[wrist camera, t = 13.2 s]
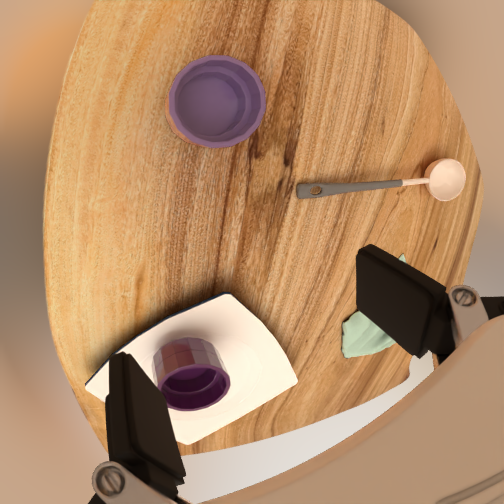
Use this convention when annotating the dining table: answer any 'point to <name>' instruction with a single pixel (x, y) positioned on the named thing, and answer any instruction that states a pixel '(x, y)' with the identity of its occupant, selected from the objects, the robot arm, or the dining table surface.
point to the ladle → (402, 182)
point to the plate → (233, 356)
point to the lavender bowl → (215, 102)
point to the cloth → (363, 335)
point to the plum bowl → (190, 374)
